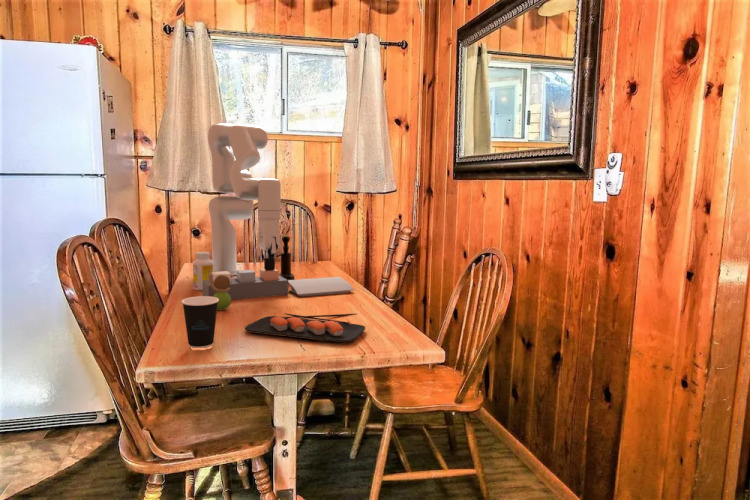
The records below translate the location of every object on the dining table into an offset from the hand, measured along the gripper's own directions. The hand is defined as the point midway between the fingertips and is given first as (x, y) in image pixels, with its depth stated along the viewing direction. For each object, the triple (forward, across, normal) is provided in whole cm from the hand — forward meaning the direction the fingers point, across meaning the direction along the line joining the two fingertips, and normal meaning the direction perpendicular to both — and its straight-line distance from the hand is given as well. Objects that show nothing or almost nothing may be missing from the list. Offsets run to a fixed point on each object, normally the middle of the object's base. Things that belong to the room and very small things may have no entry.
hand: (269, 269), depth 171 cm
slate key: (+4, 0, -8) cm, 9 cm away
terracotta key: (+4, 0, 0) cm, 4 cm away
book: (+9, +3, +17) cm, 19 cm away
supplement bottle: (+8, -15, -19) cm, 26 cm away
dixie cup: (+9, +50, -31) cm, 59 cm away
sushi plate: (+9, +43, 0) cm, 44 cm away
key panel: (+8, 0, -8) cm, 11 cm away
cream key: (+4, 0, -16) cm, 17 cm away
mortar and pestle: (+8, -18, +12) cm, 23 cm away
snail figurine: (+8, +17, -20) cm, 27 cm away
